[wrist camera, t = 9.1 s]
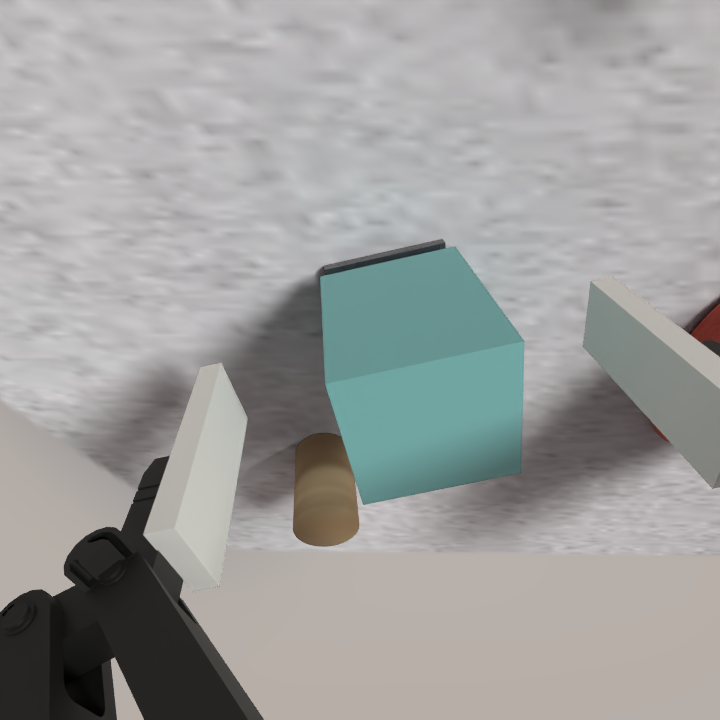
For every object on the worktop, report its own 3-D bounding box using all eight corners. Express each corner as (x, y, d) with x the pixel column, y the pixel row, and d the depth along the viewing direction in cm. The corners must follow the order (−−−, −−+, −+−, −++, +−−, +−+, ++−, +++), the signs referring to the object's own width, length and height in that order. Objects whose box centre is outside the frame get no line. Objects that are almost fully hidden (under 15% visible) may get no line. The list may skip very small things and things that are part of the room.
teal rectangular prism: (320, 276, 17) (324, 383, 11) (455, 246, 17) (524, 341, 11) (348, 380, 20) (363, 505, 14) (463, 356, 20) (521, 472, 14)
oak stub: (288, 440, 23) (284, 514, 19) (345, 428, 23) (351, 500, 19) (304, 476, 25) (303, 551, 21) (356, 465, 25) (364, 539, 21)
